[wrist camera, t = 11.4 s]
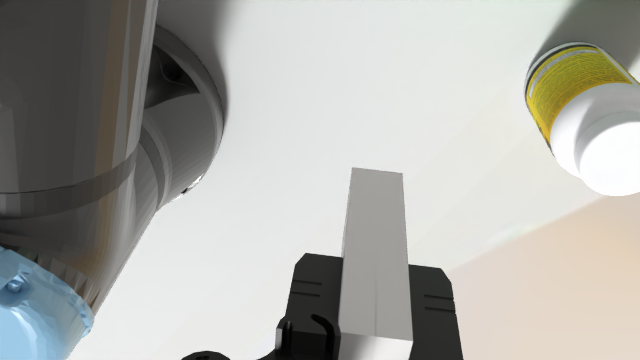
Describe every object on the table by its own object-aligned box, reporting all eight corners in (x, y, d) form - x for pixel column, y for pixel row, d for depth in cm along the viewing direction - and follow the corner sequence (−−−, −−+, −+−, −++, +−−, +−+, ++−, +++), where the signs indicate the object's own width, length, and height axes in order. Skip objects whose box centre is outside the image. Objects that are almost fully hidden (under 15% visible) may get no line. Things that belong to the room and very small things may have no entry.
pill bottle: (504, 104, 41) (541, 184, 32) (553, 25, 38) (611, 89, 28) (580, 135, 42) (638, 223, 32) (634, 60, 39) (716, 133, 29)
